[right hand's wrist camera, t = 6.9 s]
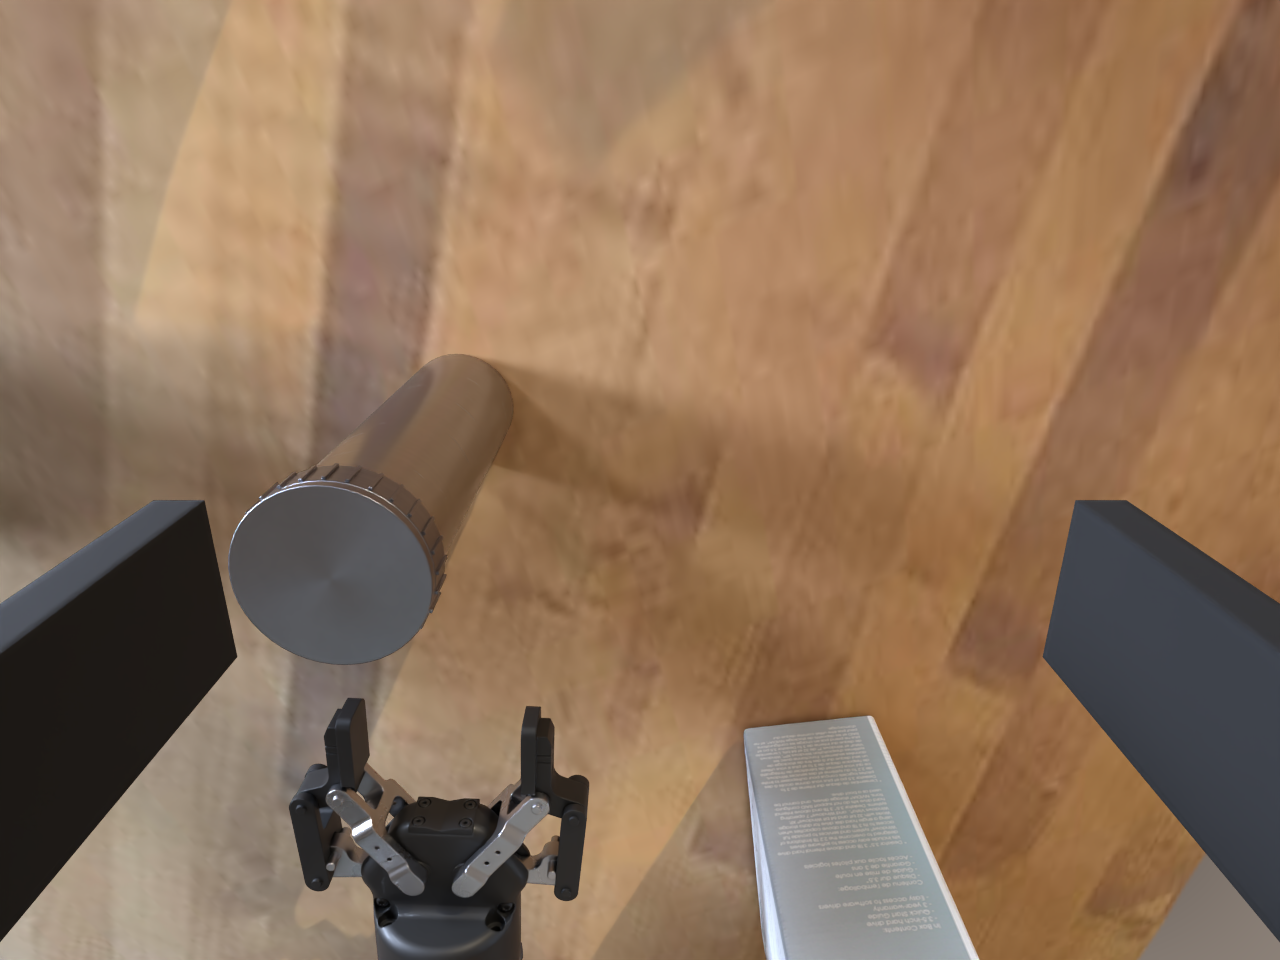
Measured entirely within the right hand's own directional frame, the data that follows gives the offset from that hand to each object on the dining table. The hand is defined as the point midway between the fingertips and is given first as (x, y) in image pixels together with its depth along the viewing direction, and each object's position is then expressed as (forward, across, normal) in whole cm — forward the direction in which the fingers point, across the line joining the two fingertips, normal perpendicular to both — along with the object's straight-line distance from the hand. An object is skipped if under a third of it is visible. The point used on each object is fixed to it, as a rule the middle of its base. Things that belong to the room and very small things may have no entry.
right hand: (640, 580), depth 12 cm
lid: (+9, +9, +5) cm, 13 cm away
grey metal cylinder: (+26, +9, +4) cm, 28 cm away
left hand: (+20, +9, +18) cm, 29 cm away
